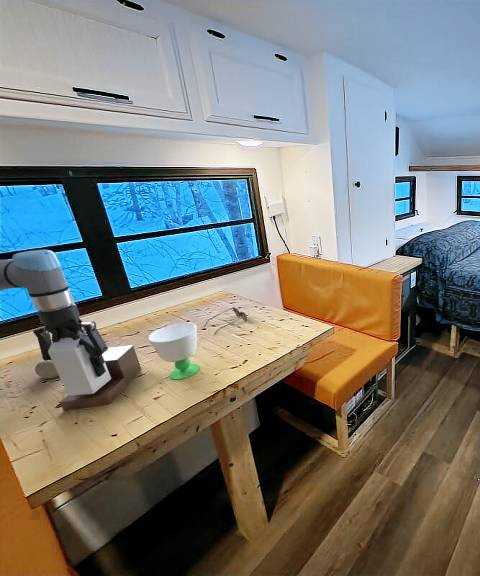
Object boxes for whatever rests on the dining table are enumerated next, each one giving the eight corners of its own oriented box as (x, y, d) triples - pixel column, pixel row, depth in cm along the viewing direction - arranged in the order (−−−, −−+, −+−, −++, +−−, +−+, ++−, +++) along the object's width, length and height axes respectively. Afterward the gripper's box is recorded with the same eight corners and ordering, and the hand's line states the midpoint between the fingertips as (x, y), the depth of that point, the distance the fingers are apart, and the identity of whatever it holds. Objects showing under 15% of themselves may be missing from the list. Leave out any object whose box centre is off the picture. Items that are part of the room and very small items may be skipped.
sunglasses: (249, 323, 141) (246, 314, 139) (216, 338, 131) (212, 328, 129) (235, 315, 150) (232, 306, 148) (203, 328, 140) (200, 318, 138)
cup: (167, 365, 110) (154, 326, 105) (209, 357, 115) (199, 319, 109) (156, 388, 98) (141, 345, 93) (204, 377, 103) (193, 336, 97)
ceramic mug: (37, 382, 103) (28, 362, 100) (52, 369, 110) (43, 350, 107) (77, 375, 106) (69, 356, 104) (88, 362, 113) (81, 344, 111)
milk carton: (94, 394, 90) (69, 337, 83) (68, 396, 89) (41, 339, 83) (111, 379, 97) (90, 325, 90) (87, 380, 96) (64, 327, 89)
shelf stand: (63, 410, 90) (49, 382, 86) (103, 374, 106) (93, 349, 103) (109, 404, 92) (98, 376, 88) (141, 369, 108) (133, 345, 105)
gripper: (107, 298, 89) (131, 364, 97) (24, 304, 85) (56, 373, 93) (89, 308, 82) (116, 378, 90) (-2, 316, 78) (35, 389, 86)
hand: (86, 375), depth 92 cm, fingers closed on milk carton, 7 cm apart
